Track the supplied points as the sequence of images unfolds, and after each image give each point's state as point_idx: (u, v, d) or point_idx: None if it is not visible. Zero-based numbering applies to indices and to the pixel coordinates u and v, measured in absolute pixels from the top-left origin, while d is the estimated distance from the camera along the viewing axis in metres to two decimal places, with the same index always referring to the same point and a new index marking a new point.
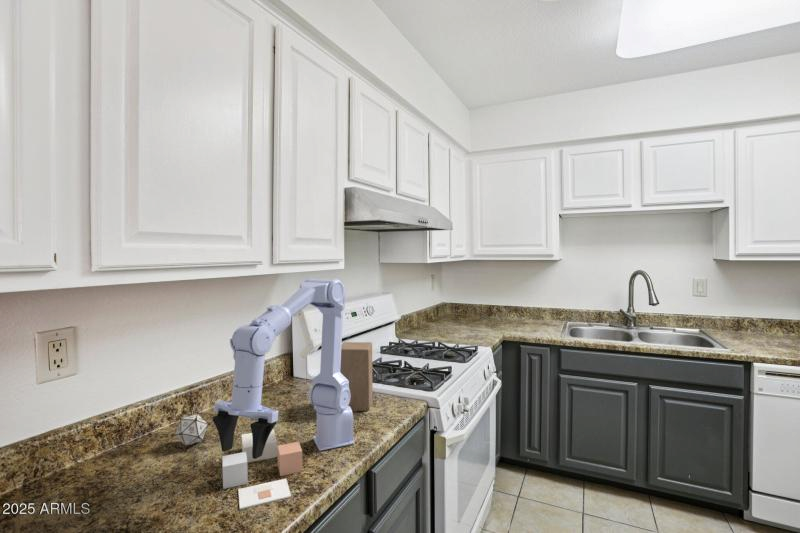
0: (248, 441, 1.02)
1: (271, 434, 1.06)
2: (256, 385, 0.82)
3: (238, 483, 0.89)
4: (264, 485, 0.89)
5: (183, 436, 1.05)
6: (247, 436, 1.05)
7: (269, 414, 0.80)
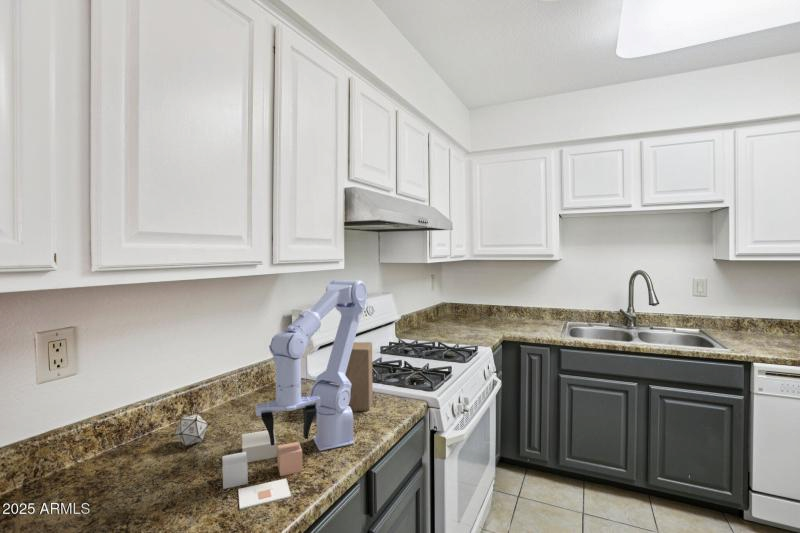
0: (248, 441, 1.02)
1: None
2: (296, 384, 0.93)
3: (238, 483, 0.89)
4: (264, 485, 0.89)
5: (183, 436, 1.05)
6: (247, 436, 1.05)
7: (317, 400, 0.97)
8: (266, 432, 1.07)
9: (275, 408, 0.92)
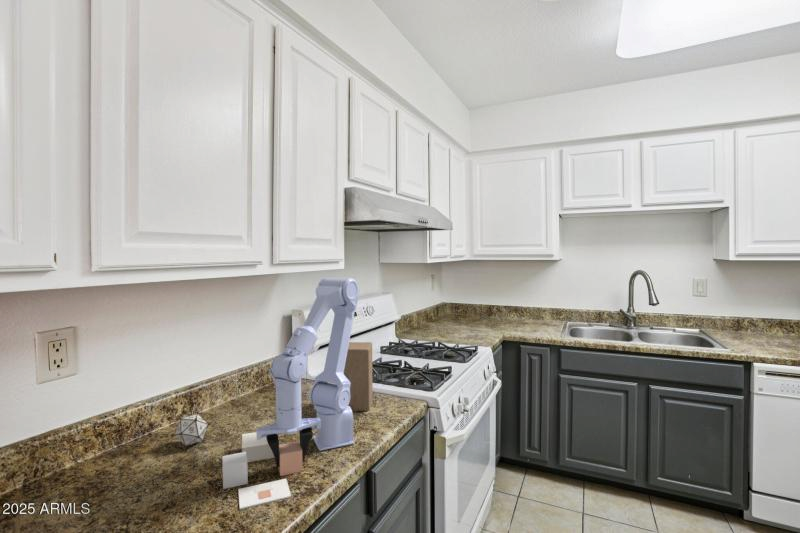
0: (247, 441, 1.02)
1: None
2: (296, 407, 0.94)
3: (238, 483, 0.89)
4: (264, 485, 0.89)
5: (183, 436, 1.05)
6: (247, 435, 1.05)
7: (318, 422, 0.97)
8: None
9: (276, 431, 0.92)
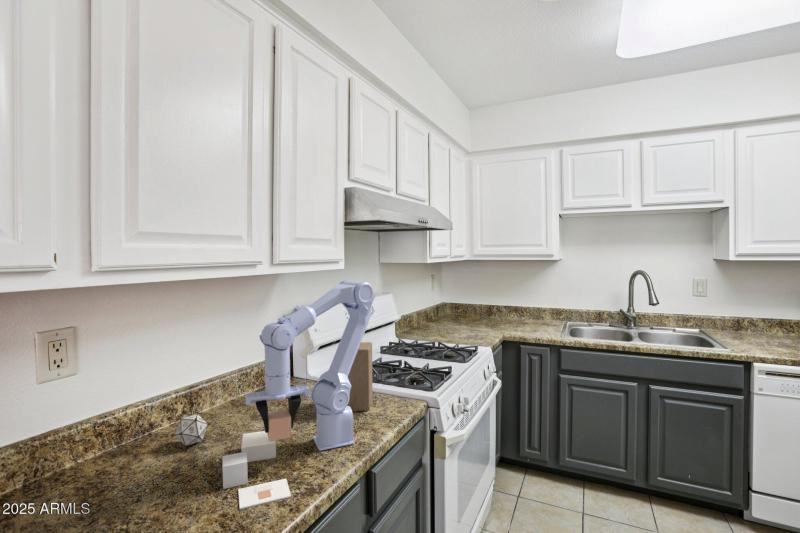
0: (247, 441, 1.02)
1: None
2: (281, 374, 0.95)
3: (238, 483, 0.89)
4: (264, 485, 0.89)
5: (183, 436, 1.05)
6: (247, 435, 1.05)
7: (306, 389, 1.00)
8: None
9: (264, 397, 0.95)
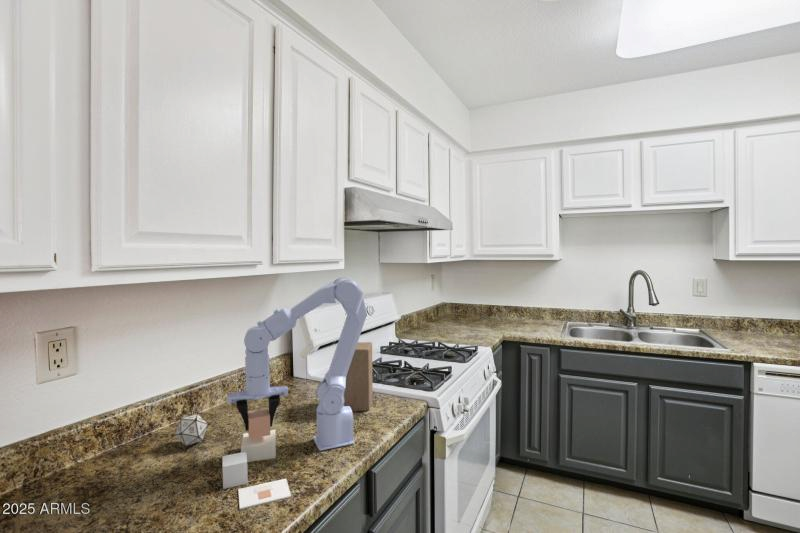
0: (247, 441, 1.02)
1: (272, 435, 1.05)
2: (255, 376, 1.00)
3: (238, 483, 0.89)
4: (264, 485, 0.89)
5: (183, 436, 1.05)
6: (248, 435, 1.05)
7: (285, 390, 1.05)
8: None
9: (244, 397, 1.00)
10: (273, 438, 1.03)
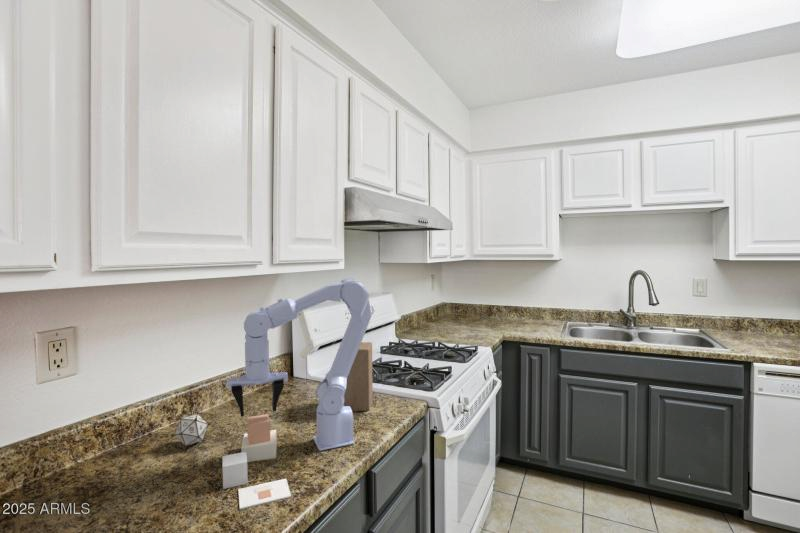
0: (248, 441, 1.02)
1: (272, 435, 1.05)
2: (254, 361, 1.00)
3: (238, 483, 0.89)
4: (264, 485, 0.89)
5: (183, 436, 1.05)
6: None
7: (285, 375, 1.05)
8: None
9: (244, 382, 1.00)
10: (274, 438, 1.03)
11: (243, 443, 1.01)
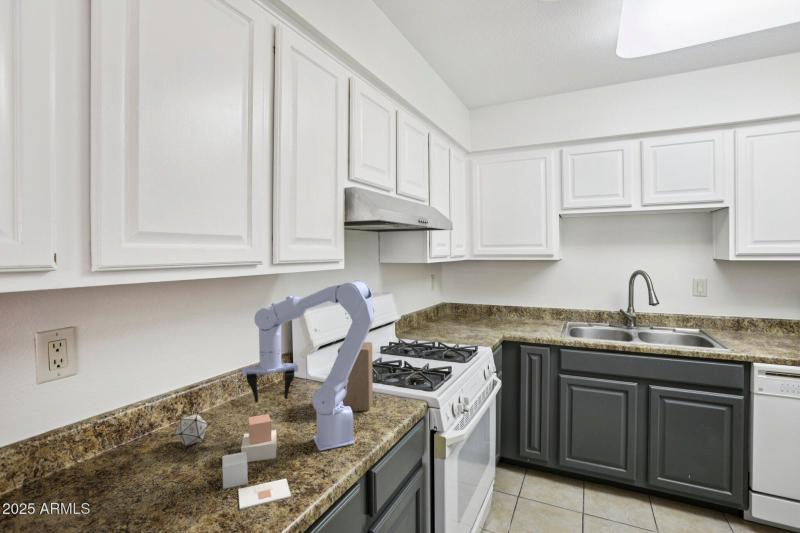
0: (248, 441, 1.02)
1: (272, 435, 1.05)
2: (263, 351, 1.09)
3: (238, 483, 0.89)
4: (264, 485, 0.89)
5: (183, 436, 1.05)
6: (248, 435, 1.05)
7: (295, 366, 1.13)
8: None
9: (258, 370, 1.09)
10: (273, 438, 1.03)
11: (243, 443, 1.01)
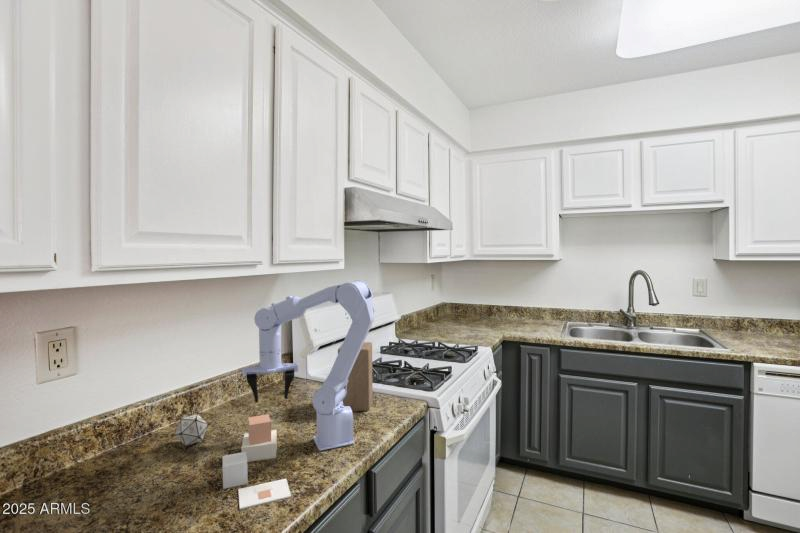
0: (248, 441, 1.02)
1: (272, 435, 1.05)
2: (263, 351, 1.09)
3: (238, 483, 0.89)
4: (264, 485, 0.89)
5: (183, 436, 1.05)
6: None
7: (295, 366, 1.13)
8: None
9: (258, 370, 1.09)
10: (274, 438, 1.03)
11: (243, 443, 1.01)
